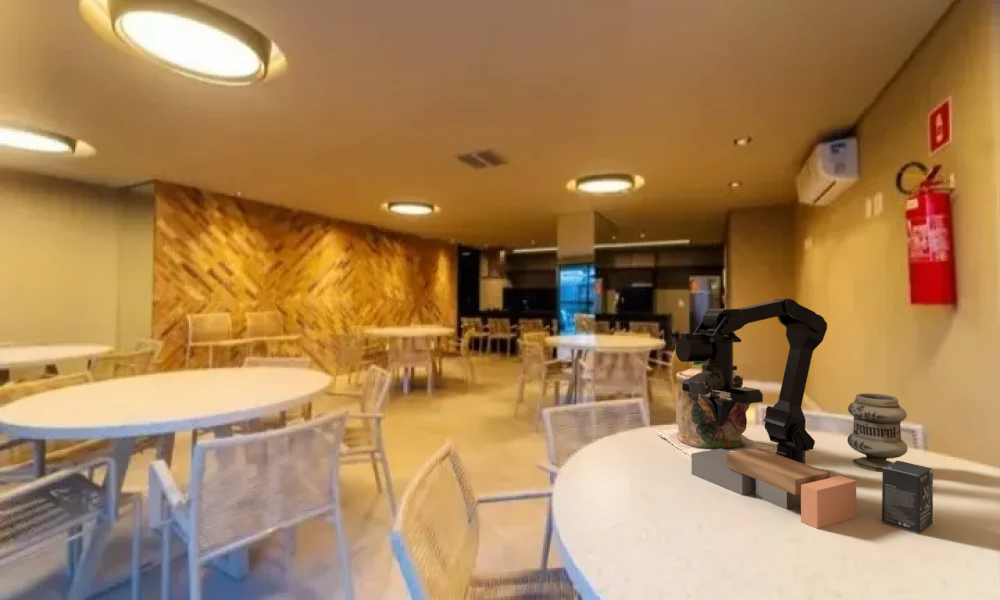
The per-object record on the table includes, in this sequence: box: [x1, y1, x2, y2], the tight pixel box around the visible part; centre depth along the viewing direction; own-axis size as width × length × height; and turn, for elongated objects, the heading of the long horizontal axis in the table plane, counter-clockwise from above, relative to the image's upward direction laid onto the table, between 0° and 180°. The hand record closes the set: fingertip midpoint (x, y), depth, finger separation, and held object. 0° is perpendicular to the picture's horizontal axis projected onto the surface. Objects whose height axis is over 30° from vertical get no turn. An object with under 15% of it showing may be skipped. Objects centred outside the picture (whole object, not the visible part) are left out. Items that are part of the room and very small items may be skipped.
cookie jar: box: [656, 361, 775, 458], centre depth 140 cm, size 25×25×32 cm
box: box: [881, 460, 934, 534], centre depth 90 cm, size 8×6×11 cm
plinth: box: [691, 449, 756, 496], centre depth 111 cm, size 10×14×5 cm
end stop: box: [800, 475, 857, 530], centre depth 91 cm, size 12×3×7 cm, turn 114°
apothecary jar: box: [846, 392, 909, 472], centre depth 122 cm, size 12×12×18 cm
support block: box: [755, 479, 801, 510], centre depth 100 cm, size 5×7×5 cm
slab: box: [726, 448, 831, 495], centre depth 100 cm, size 10×16×3 cm, turn 22°
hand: (720, 426), depth 114 cm, fingers closed
